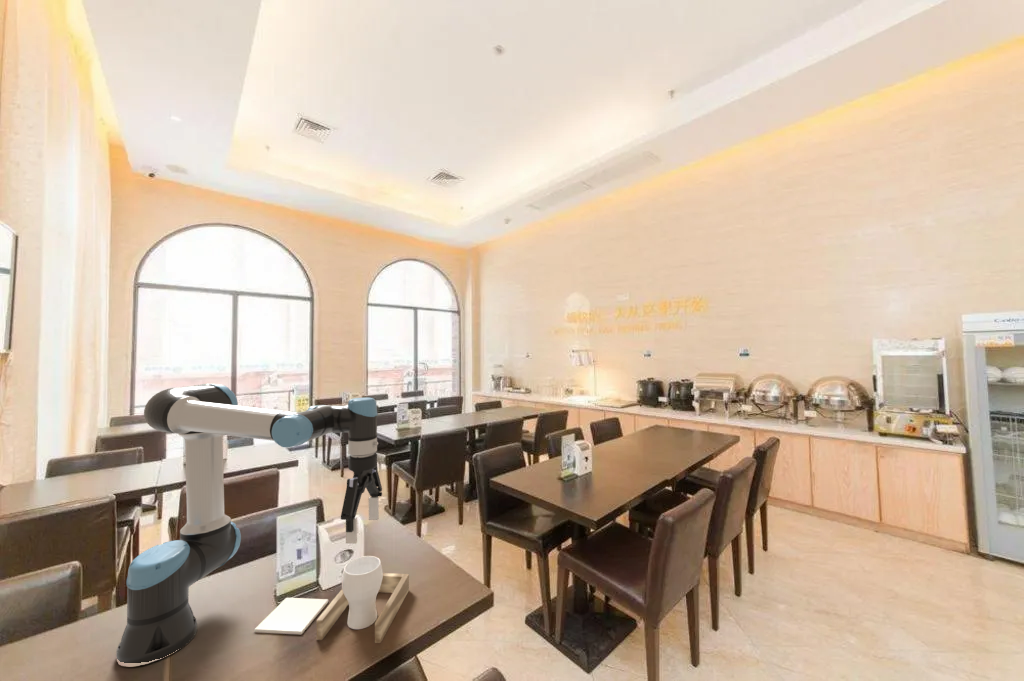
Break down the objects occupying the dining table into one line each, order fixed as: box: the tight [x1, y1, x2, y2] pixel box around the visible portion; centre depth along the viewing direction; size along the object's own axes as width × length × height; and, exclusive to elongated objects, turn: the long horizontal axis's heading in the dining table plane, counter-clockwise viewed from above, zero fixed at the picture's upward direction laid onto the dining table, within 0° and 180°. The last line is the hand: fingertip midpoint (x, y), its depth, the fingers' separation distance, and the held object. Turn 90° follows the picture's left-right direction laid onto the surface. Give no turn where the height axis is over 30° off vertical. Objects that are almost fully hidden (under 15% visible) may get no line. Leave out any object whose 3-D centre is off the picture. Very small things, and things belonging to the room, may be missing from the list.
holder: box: [315, 572, 410, 644], centre depth 110 cm, size 17×22×5 cm
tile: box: [254, 597, 329, 635], centre depth 109 cm, size 13×13×1 cm
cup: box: [341, 555, 384, 630], centre depth 108 cm, size 11×11×15 cm
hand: (363, 530), depth 108 cm, fingers open, 13 cm apart
